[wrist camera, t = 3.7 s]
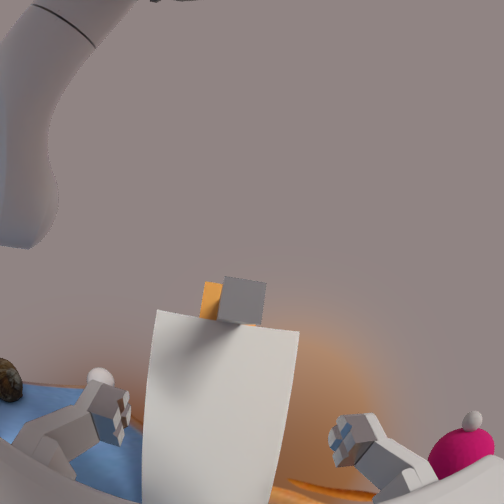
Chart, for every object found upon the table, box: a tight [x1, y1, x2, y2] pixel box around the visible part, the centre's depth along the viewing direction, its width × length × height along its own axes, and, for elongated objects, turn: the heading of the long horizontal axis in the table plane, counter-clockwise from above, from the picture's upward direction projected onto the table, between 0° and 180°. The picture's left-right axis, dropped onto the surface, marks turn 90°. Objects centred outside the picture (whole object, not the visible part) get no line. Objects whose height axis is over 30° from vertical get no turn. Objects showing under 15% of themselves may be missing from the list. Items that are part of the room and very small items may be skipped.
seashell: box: [0, 358, 23, 402], centre depth 32 cm, size 11×9×8 cm
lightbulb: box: [87, 368, 114, 387], centre depth 46 cm, size 6×6×11 cm
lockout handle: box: [199, 276, 266, 326], centre depth 26 cm, size 6×22×4 cm, turn 6°
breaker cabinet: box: [142, 310, 300, 504], centre depth 28 cm, size 14×13×26 cm
